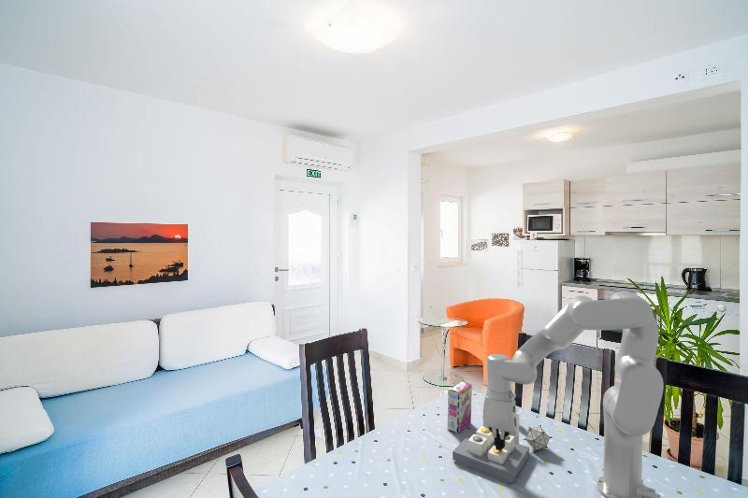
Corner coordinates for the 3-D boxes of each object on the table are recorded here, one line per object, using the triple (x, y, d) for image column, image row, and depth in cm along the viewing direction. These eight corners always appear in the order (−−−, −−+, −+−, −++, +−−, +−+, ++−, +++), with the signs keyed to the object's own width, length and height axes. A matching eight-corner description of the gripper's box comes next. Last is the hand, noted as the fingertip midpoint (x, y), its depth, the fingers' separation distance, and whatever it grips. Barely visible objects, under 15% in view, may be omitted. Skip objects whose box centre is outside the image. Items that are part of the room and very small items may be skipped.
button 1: (494, 443, 136) (494, 429, 136) (489, 449, 132) (489, 435, 132) (481, 439, 139) (481, 425, 139) (476, 445, 135) (476, 430, 135)
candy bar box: (458, 434, 147) (458, 392, 146) (447, 430, 150) (447, 389, 149) (472, 423, 155) (472, 383, 155) (460, 419, 159) (461, 380, 158)
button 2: (486, 452, 130) (487, 437, 130) (481, 459, 126) (481, 443, 126) (473, 448, 133) (473, 433, 133) (467, 454, 129) (467, 439, 129)
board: (529, 457, 132) (529, 447, 132) (512, 484, 117) (512, 473, 117) (473, 438, 144) (473, 429, 144) (452, 461, 130) (452, 451, 129)
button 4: (514, 450, 132) (514, 435, 131) (509, 457, 128) (509, 441, 128) (500, 445, 135) (500, 431, 134) (495, 452, 131) (495, 437, 130)
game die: (543, 461, 135) (556, 449, 129) (519, 451, 137) (531, 437, 131) (543, 438, 142) (556, 425, 136) (520, 428, 144) (532, 415, 138)
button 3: (507, 465, 126) (507, 449, 126) (502, 472, 122) (502, 456, 122) (493, 460, 129) (493, 444, 129) (487, 467, 125) (488, 451, 125)
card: (520, 443, 141) (521, 411, 140) (518, 446, 138) (518, 414, 138) (494, 434, 147) (494, 403, 146) (491, 437, 144) (491, 406, 144)
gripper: (526, 394, 123) (526, 450, 124) (481, 384, 132) (482, 436, 133) (519, 403, 117) (519, 461, 118) (472, 392, 126) (473, 446, 127)
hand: (499, 448), depth 125 cm, fingers closed
